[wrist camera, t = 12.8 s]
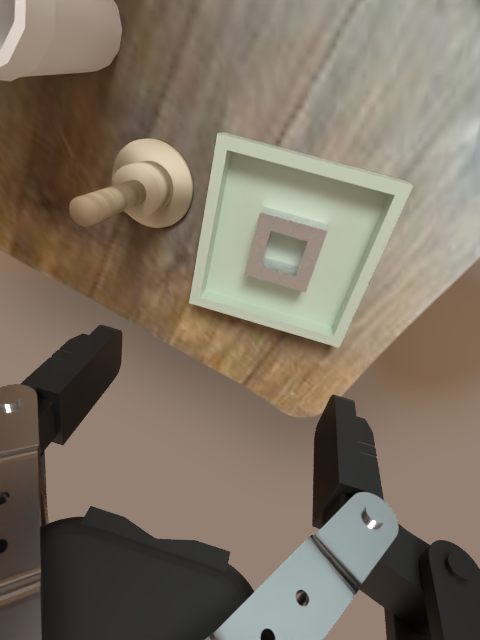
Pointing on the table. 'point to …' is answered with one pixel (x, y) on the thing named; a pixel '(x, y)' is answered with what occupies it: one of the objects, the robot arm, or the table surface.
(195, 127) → the table surface
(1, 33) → the foam cup
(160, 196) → the beige peg stand
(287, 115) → the table surface
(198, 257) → the tray
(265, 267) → the ring
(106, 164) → the table surface
